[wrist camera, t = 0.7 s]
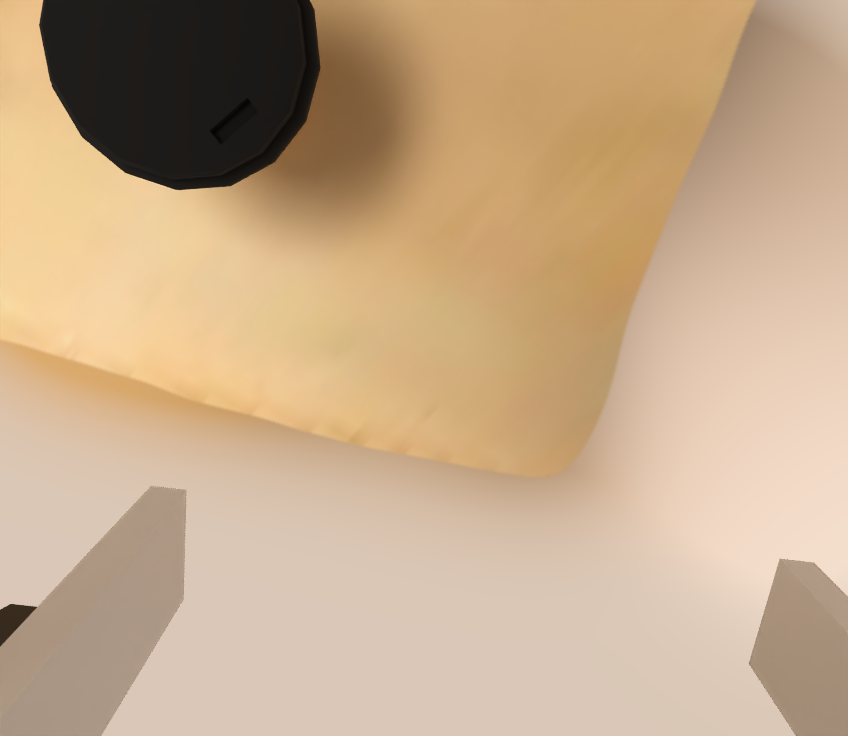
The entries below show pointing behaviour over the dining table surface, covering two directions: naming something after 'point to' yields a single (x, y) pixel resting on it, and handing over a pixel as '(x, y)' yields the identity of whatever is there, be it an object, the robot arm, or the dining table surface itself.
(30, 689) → the robot arm
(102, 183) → the dining table surface
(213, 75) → the coffee cup
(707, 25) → the dining table surface
